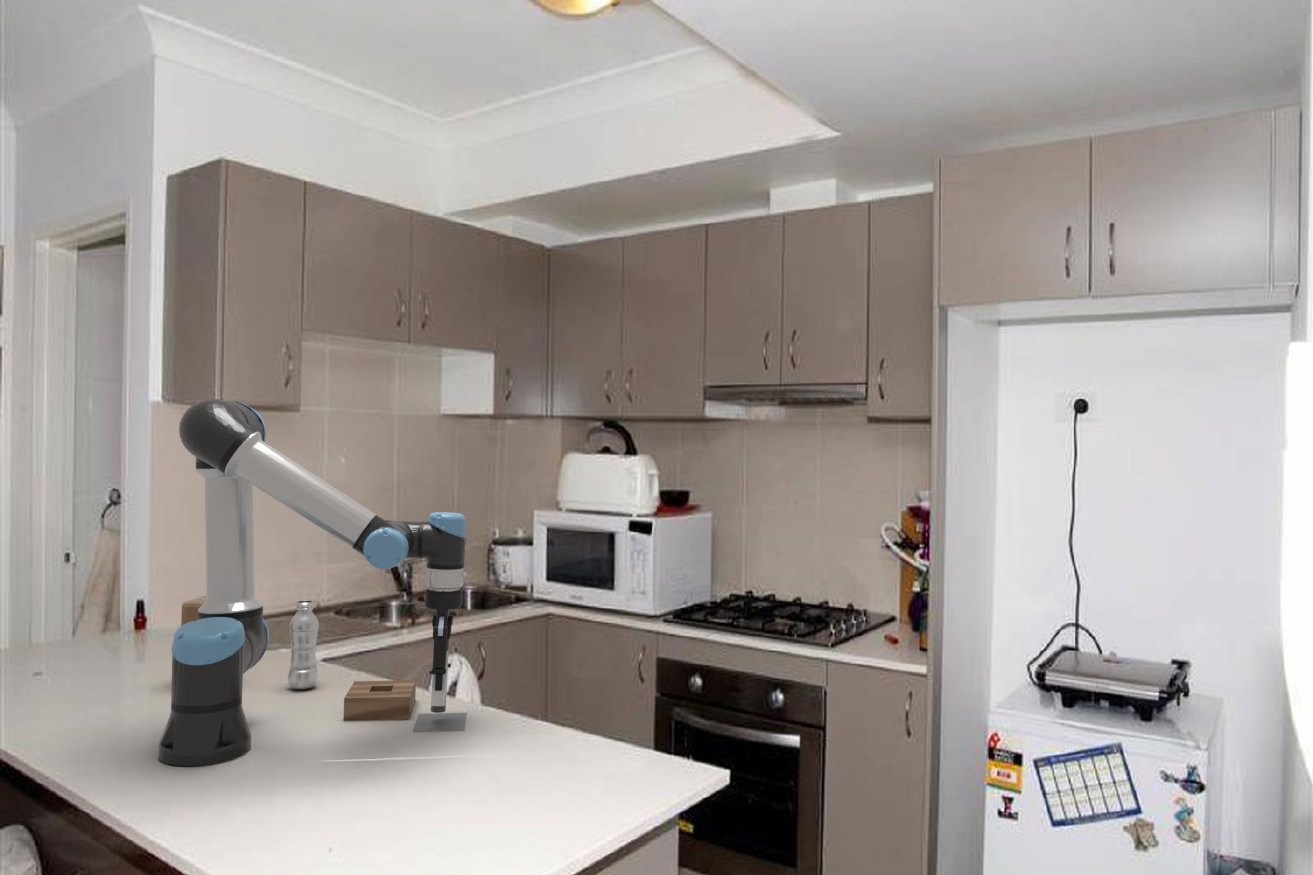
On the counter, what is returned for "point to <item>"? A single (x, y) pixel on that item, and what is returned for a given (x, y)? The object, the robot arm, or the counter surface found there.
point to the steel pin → (443, 708)
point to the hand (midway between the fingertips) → (438, 702)
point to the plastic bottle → (303, 647)
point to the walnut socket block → (380, 700)
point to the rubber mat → (440, 722)
